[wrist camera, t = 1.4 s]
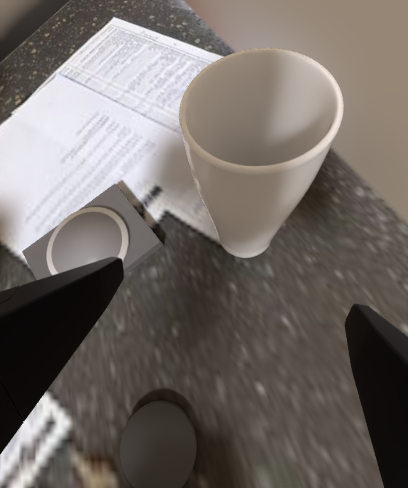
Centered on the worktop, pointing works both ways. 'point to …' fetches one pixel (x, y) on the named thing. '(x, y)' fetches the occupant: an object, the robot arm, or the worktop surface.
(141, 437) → the lens cap
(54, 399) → the worktop surface
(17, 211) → the worktop surface
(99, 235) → the grey ringed base plate
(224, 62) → the drinking glass
